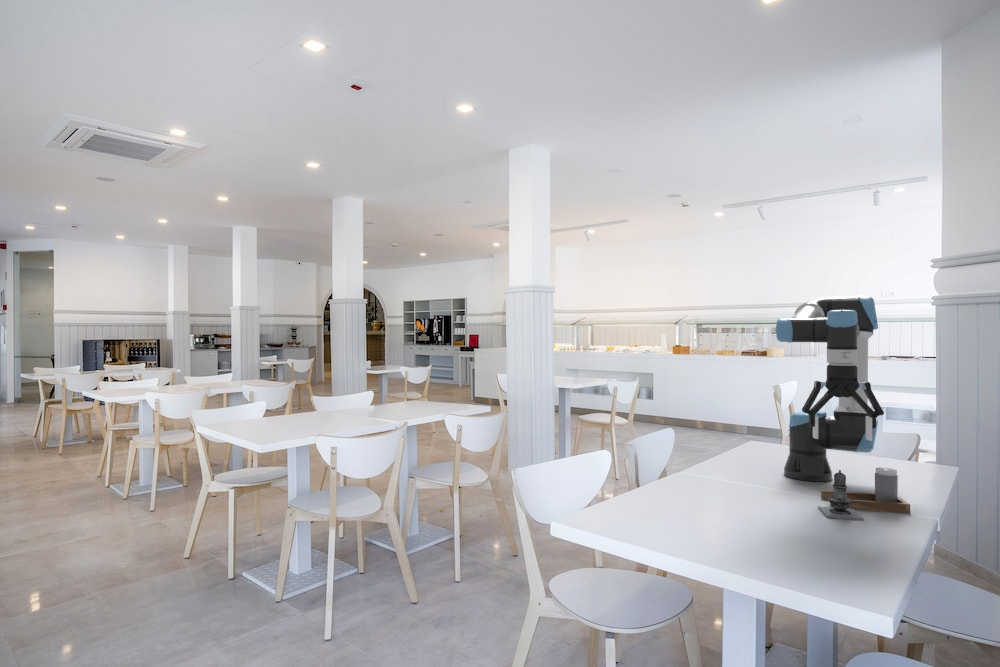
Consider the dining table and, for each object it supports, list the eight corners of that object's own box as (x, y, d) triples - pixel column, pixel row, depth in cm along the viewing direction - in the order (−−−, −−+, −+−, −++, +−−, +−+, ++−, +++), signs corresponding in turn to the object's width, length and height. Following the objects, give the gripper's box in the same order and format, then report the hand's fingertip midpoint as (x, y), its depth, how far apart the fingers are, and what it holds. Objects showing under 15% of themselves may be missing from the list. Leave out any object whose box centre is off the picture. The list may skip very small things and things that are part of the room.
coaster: (817, 508, 168) (817, 506, 168) (852, 510, 166) (852, 508, 166) (827, 517, 160) (827, 515, 160) (863, 520, 157) (863, 518, 157)
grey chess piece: (855, 515, 160) (855, 472, 160) (832, 514, 161) (832, 471, 161) (847, 509, 165) (847, 467, 165) (825, 508, 166) (824, 466, 166)
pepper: (871, 503, 173) (871, 466, 173) (892, 504, 172) (892, 467, 172) (879, 508, 168) (879, 471, 168) (901, 510, 166) (901, 472, 166)
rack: (820, 498, 179) (820, 490, 179) (894, 502, 174) (894, 494, 174) (831, 508, 169) (831, 499, 169) (910, 513, 164) (910, 504, 164)
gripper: (797, 364, 163) (797, 439, 163) (897, 365, 157) (897, 443, 157) (790, 363, 170) (790, 434, 170) (886, 363, 164) (886, 438, 164)
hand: (841, 439), depth 164 cm, fingers open, 13 cm apart
